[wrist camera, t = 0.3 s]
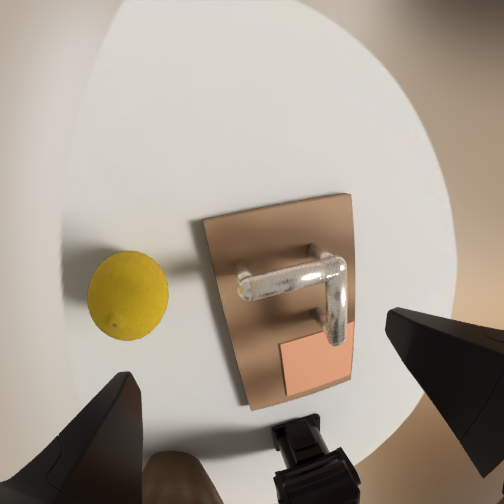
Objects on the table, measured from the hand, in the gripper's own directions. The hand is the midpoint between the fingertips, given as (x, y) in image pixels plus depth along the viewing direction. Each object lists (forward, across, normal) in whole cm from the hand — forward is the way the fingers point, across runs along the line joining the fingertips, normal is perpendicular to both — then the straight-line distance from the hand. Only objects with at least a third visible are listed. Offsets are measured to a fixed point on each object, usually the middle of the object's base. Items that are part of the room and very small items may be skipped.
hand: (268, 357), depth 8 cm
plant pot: (+14, +14, +30) cm, 36 cm away
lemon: (+14, +7, +1) cm, 16 cm away
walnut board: (+14, -5, +8) cm, 17 cm away
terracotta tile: (+14, -7, +14) cm, 21 cm away
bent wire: (+14, -4, +5) cm, 15 cm away
